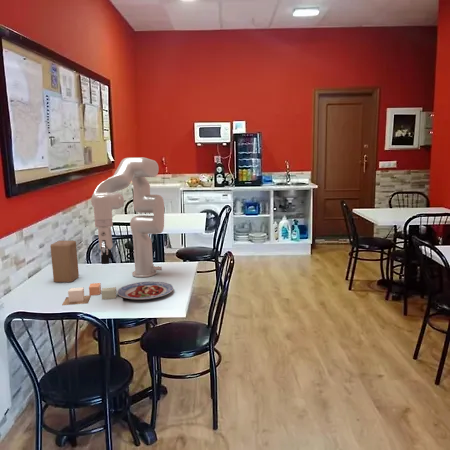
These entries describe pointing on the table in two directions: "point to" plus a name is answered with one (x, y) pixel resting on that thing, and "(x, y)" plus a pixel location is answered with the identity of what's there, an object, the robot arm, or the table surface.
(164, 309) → the table surface
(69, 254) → the wooden block
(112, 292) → the sage green brick
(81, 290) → the cream base brick
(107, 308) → the table surface
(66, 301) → the walnut board
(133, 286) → the ceramic plate
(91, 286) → the terracotta brick
